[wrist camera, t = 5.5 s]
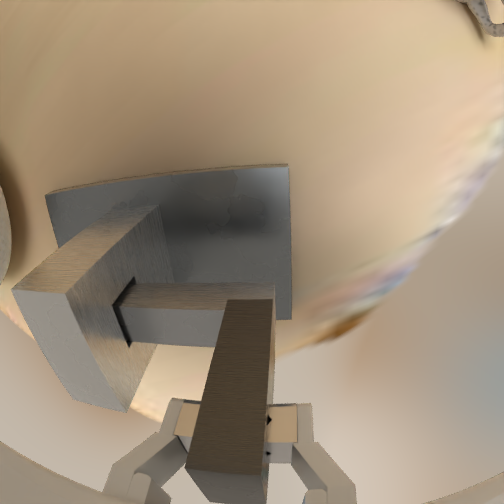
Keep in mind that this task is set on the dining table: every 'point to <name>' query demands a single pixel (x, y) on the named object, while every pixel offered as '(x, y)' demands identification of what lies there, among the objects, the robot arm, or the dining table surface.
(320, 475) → the robot arm
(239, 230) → the stand
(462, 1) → the mug
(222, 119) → the dining table surface
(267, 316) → the dark angled piece
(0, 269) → the cereal bowl
